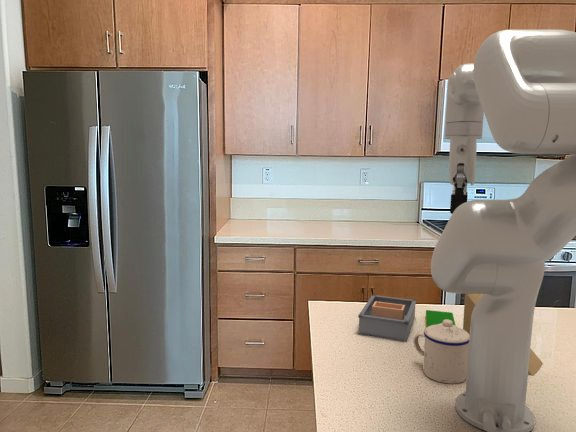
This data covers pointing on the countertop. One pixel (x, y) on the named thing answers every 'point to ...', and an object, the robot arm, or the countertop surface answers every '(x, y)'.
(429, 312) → the dish sponge
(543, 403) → the countertop surface
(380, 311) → the box
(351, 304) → the countertop surface
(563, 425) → the countertop surface
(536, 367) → the sandwich container
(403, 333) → the big crate
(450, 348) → the teacup with lid
